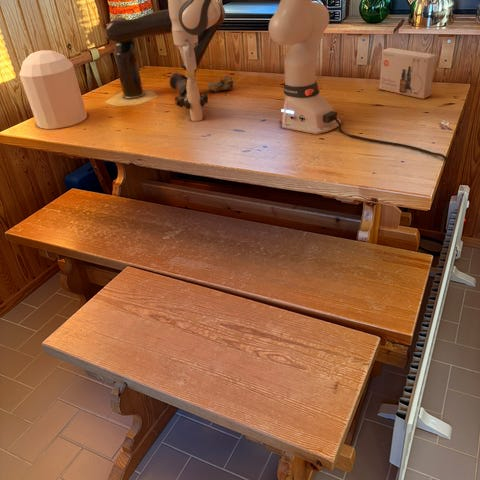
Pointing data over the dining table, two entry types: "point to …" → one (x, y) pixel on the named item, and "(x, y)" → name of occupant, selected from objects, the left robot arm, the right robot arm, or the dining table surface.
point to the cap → (188, 73)
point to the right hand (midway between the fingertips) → (190, 76)
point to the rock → (221, 84)
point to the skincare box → (407, 72)
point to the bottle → (194, 100)
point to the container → (52, 90)
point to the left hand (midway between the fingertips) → (196, 105)
